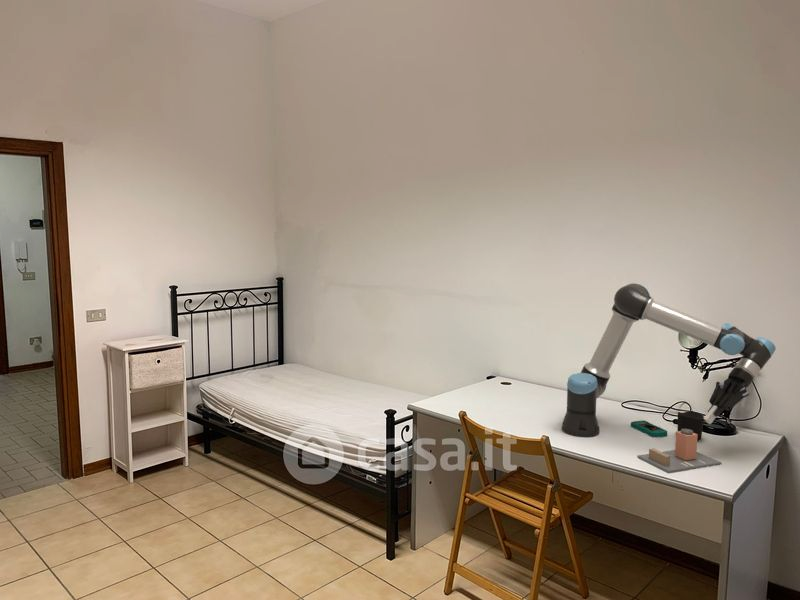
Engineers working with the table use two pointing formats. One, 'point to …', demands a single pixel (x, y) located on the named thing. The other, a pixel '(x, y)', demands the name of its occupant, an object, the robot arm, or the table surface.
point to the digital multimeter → (649, 428)
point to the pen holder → (691, 422)
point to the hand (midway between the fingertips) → (707, 421)
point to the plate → (676, 461)
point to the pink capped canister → (686, 444)
